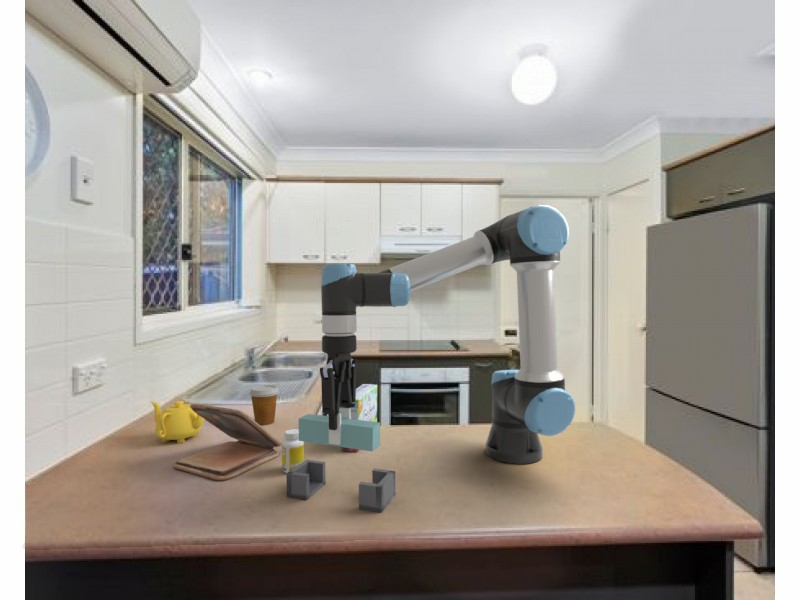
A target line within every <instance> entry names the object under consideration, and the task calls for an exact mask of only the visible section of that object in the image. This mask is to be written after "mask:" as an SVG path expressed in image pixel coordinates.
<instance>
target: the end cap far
mask: <svg viewBox="0 0 800 600" xmlns="http://www.w3.org/2000/svg"><path fill="white" fill-rule="evenodd" d="M285 474H286V476H285V477H286V497H287V498H290V499H291V498H293V499H298V500H304V501H308V500H309V499H310V498H311V497H312V496H314V494H315V493H317V492H319V490H320V489H322V488H323V487H324V486H325V485H326V483H327V482H326V479H327V477H326V461H321V460H313V459H304V462H302V463H301V464H299V465H298V466H296V467H295V468H293V469H292V470H291V471H289V472H288V473H285Z"/></svg>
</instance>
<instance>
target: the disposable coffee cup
mask: <svg viewBox="0 0 800 600" xmlns="http://www.w3.org/2000/svg"><path fill="white" fill-rule="evenodd" d="M249 394H250V396H251V403H252V409H253V410H252V411H253V415H254V421H255V422H257V423H258V424H259V425H260V426H266V425H271V424H274V423H275V420H276V419H275V418H276V408H277V400H278V394H279V389H278V386H276V385H271V384H269V385H266V384H265V385H257V386H253V387H252V388H251V389H250V392H249Z"/></svg>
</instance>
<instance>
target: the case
mask: <svg viewBox="0 0 800 600" xmlns="http://www.w3.org/2000/svg"><path fill="white" fill-rule="evenodd" d="M190 404H191V405H190V408H191V409H192V410H193V411H194V412H195V413H197V414H198V415H199V416H201V417H202V418H204V421H206V422H208V423H209V424H211V425H212V426H213V427H215V428H217V429H218V430H219V431H221V432H223V433H224V434H225V435H226V436H228V437H230V438H233V439H235V440H237V441H233V440H232V441H227V442H223V443H220V444H218V445H215V446H212V447H210V448H207V449H204V450H201V451H198V452H197V453H194V454H190V455H188V456H185V457H182V458H180V459H179V458H178V460H177V461H175V462H174V463H173V465H172V466H173V467H172V468H174V469H175V470H179V471H182V472H186V473H190V474H194V475H197V476H200V477H204V478H206V479H211V480H213V481H227V480H231V479H232V478H235V477H237V476H239V475H241V474H244V473H245V472H248V471H251V470H252V469H254V468H256V467H258V466H261V465H263V464H265V463H267V462H269V461H271V460H273V459H275V458H278V457H279V455H280V452H279V451H278V450H276V449H274V448H278V447H282V442H281V441H280V440H278V438H277V437H275V436H274V435H272V434H271V433H270V432H269V431H267V430H266V429H265V428H264V427H263V426H262V425H259V424H258V423H257V422H255V419H253V418H252V417H251V416H249V415H248V414H247V413H245V412H244V411H242V410H239V409H235V408H229V407H222V406H221V407H220V406H213V405H208V404H200V403H199V404H198V403H190Z"/></svg>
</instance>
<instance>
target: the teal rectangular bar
mask: <svg viewBox="0 0 800 600" xmlns="http://www.w3.org/2000/svg"><path fill="white" fill-rule="evenodd" d="M298 430H299V441H304V443H305V442H306V443H310V444H311V443H312V444H319V445H324V446H333V447H339V448H341V447H345V448H352V449H359V451H367V452H375V450H377V449H378V448H379V447H380V446H381V422H378V421H377V422H372V421H364V420H356V419H347V418H341V445H336V444H329V423H328V415H322V414H321V415H320V414H314V413H313V414H312V413H307V414H305V415H304V416H301V417H299V418H298Z"/></svg>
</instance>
